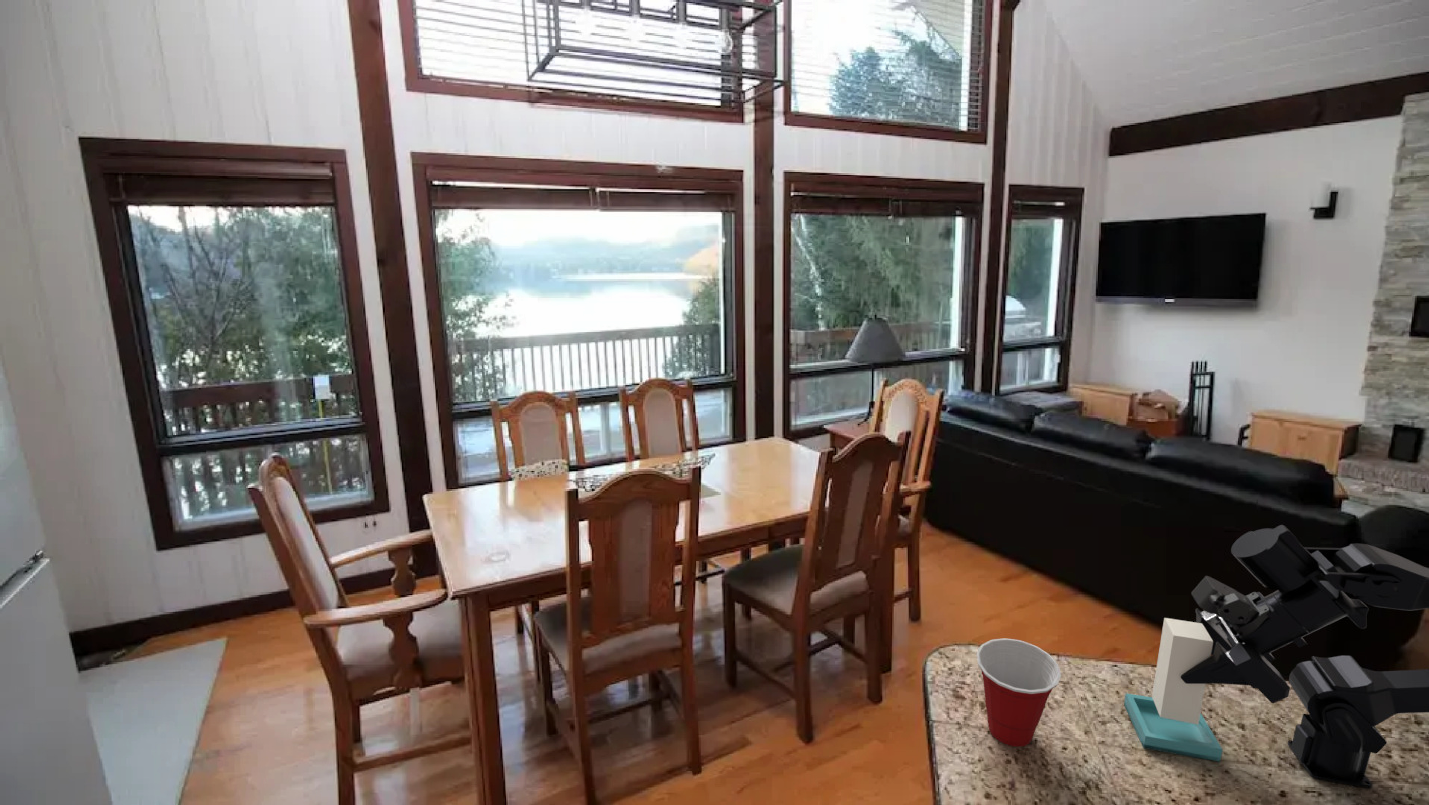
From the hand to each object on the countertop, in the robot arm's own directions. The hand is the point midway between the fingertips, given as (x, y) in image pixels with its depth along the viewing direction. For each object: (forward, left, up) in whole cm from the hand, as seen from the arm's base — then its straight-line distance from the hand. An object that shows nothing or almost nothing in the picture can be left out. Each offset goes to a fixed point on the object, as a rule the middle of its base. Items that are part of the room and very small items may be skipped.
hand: (1177, 669), depth 91 cm
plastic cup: (+22, +6, -10) cm, 25 cm away
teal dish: (0, 0, -10) cm, 10 cm away
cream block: (0, 0, -7) cm, 7 cm away
